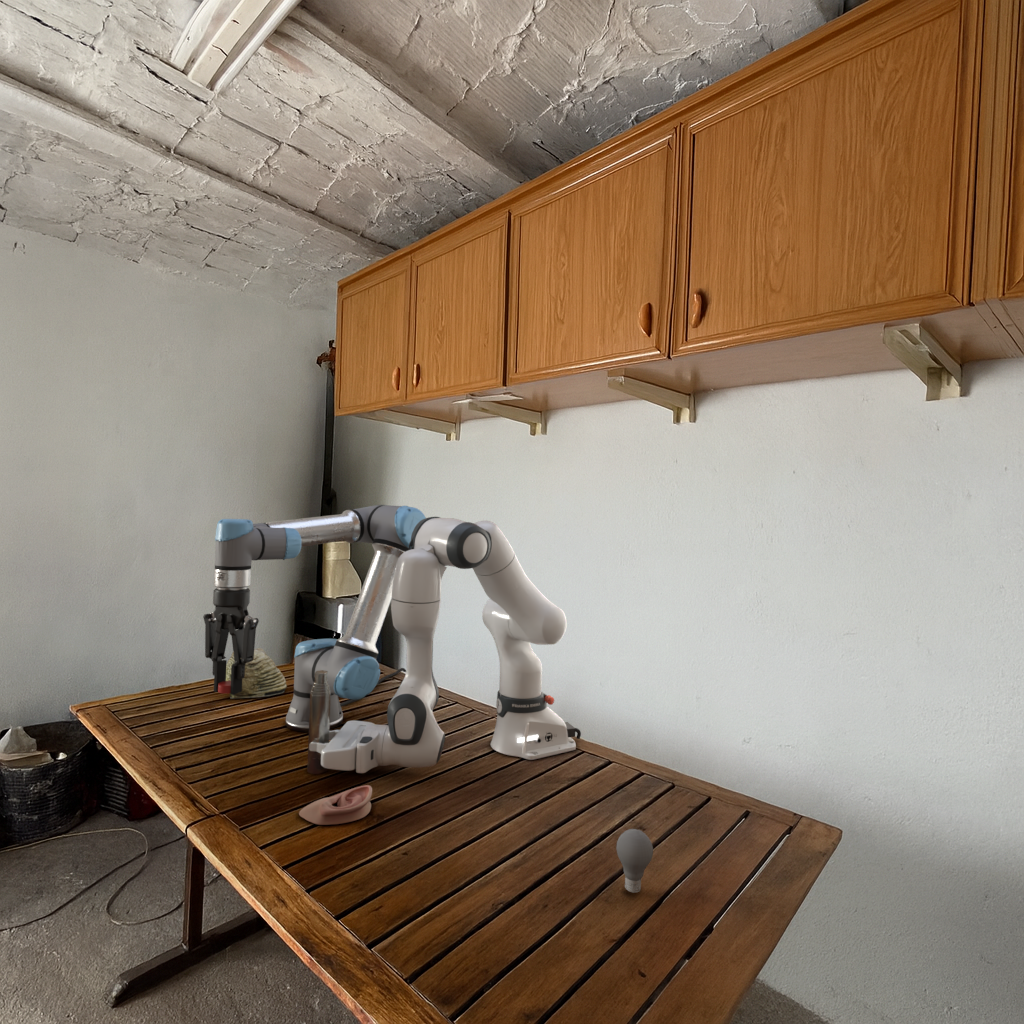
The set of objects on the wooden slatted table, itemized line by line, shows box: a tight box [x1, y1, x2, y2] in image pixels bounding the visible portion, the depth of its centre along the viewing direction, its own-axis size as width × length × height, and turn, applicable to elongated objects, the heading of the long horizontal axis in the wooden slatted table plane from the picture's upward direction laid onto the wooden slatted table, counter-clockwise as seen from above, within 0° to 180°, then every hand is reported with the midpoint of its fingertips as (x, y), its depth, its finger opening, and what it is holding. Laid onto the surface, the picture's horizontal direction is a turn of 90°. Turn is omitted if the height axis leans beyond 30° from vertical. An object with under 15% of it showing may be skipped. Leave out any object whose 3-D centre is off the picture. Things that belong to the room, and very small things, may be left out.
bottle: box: [306, 670, 331, 775], centre depth 146 cm, size 5×5×23 cm
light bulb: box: [615, 828, 654, 894], centre depth 106 cm, size 6×6×10 cm
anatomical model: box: [298, 784, 373, 826], centre depth 127 cm, size 13×4×12 cm
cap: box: [218, 681, 231, 695], centre depth 142 cm, size 4×4×2 cm
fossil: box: [226, 647, 288, 699], centre depth 198 cm, size 9×18×15 cm, turn 132°
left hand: (227, 691), depth 142 cm, fingers closed on cap, 4 cm apart
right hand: (314, 740), depth 147 cm, fingers closed on bottle, 4 cm apart
